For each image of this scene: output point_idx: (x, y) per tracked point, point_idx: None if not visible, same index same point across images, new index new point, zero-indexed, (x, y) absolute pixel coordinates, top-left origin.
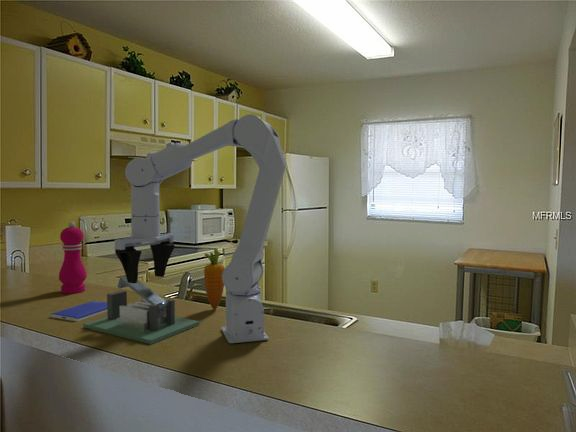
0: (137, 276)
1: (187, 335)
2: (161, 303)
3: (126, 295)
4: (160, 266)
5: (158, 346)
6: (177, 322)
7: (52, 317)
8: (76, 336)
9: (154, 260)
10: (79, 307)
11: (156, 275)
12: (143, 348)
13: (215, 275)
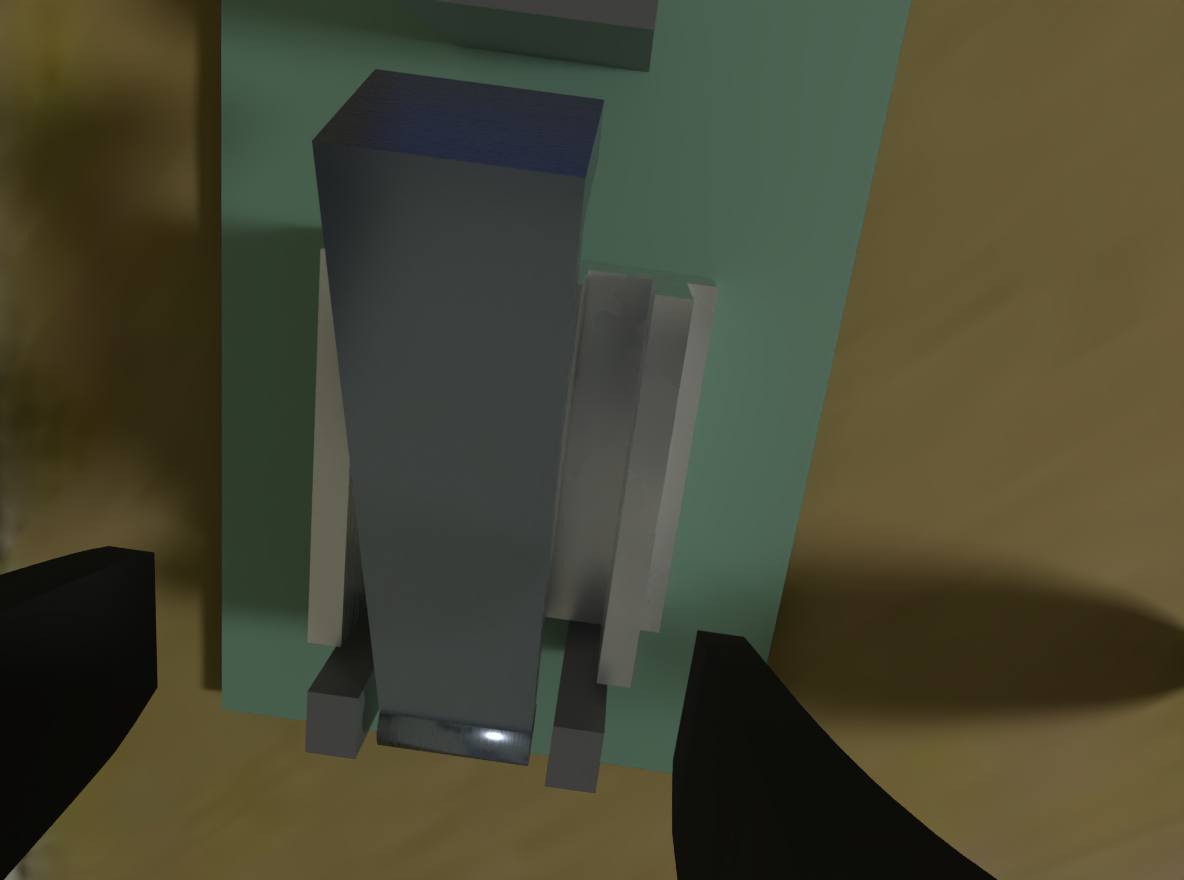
0: (88, 774)
1: (496, 800)
2: (428, 749)
3: (650, 38)
4: (696, 862)
5: (234, 750)
6: (647, 651)
7: None
8: (46, 30)
9: (757, 786)
10: None
11: (692, 663)
12: (157, 690)
13: None
